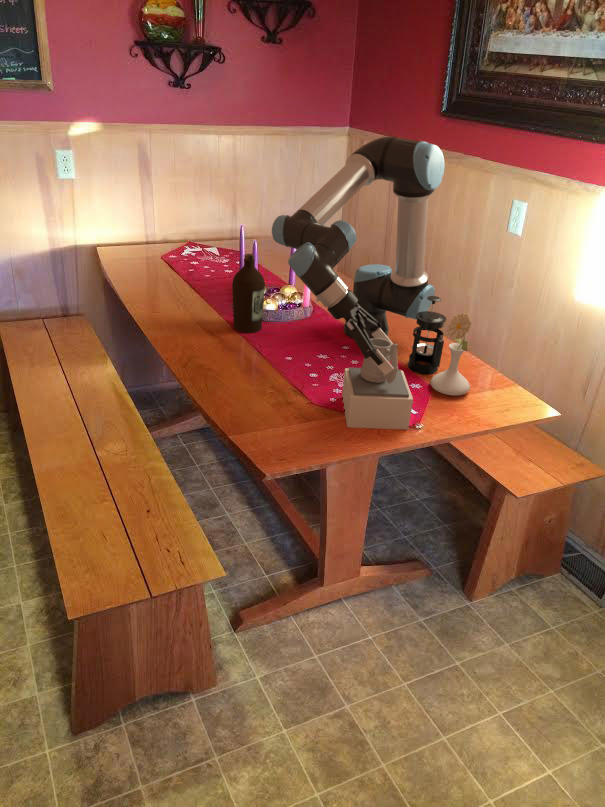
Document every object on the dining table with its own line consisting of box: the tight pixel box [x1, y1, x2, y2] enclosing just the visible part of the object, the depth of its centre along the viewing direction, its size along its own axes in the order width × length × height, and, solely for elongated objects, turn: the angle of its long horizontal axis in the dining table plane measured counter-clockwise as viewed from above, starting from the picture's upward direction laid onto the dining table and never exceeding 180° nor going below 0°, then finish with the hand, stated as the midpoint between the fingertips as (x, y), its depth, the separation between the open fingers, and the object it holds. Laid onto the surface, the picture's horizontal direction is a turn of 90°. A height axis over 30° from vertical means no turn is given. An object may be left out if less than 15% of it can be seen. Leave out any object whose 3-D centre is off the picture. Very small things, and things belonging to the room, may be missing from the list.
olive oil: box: [231, 253, 266, 334], centre depth 218 cm, size 11×11×25 cm
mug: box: [360, 338, 399, 384], centre depth 172 cm, size 8×12×12 cm, turn 32°
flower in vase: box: [429, 312, 472, 396], centre depth 188 cm, size 13×11×25 cm
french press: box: [407, 295, 447, 376], centre depth 200 cm, size 12×9×23 cm
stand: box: [341, 366, 414, 430], centre depth 178 cm, size 16×16×10 cm
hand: (390, 360), depth 172 cm, fingers open, 13 cm apart
